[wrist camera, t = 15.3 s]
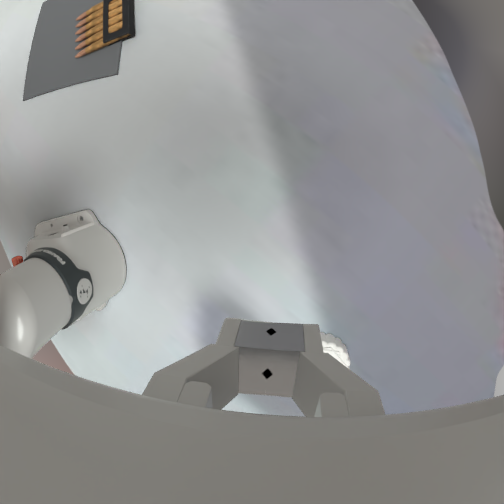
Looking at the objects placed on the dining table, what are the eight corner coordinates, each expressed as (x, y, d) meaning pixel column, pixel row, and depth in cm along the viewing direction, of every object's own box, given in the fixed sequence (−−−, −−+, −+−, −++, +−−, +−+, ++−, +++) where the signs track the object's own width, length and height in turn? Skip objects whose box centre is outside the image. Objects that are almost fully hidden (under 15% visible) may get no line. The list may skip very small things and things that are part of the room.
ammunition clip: (133, -10, 32) (78, 17, 34) (128, -14, 30) (73, 15, 33) (134, 35, 35) (78, 62, 37) (129, 32, 34) (71, 60, 36)
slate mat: (24, 100, 40) (22, 100, 40) (43, 3, 33) (42, 2, 32) (117, 74, 38) (116, 74, 38) (138, -34, 31) (137, -35, 30)
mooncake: (313, 392, 52) (314, 405, 49) (266, 360, 51) (265, 373, 47) (361, 355, 49) (365, 367, 45) (315, 318, 47) (317, 329, 44)
